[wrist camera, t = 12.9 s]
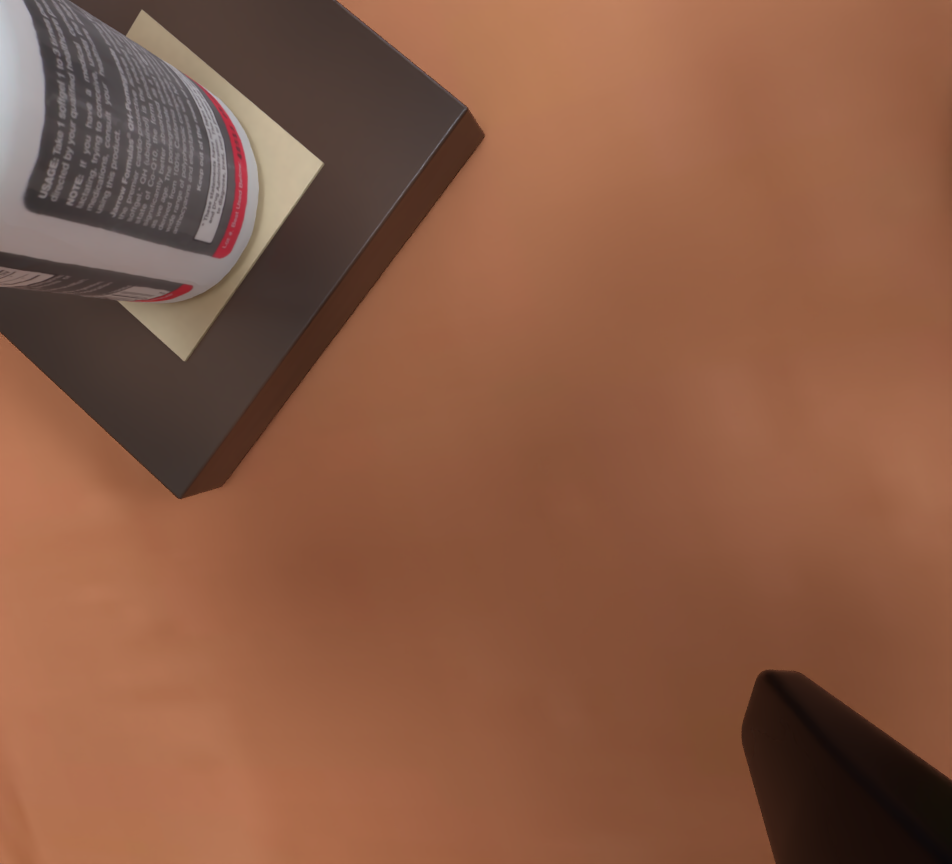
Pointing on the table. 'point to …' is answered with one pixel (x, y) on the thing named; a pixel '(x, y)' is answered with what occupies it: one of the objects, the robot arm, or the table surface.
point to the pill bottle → (113, 164)
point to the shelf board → (257, 229)
